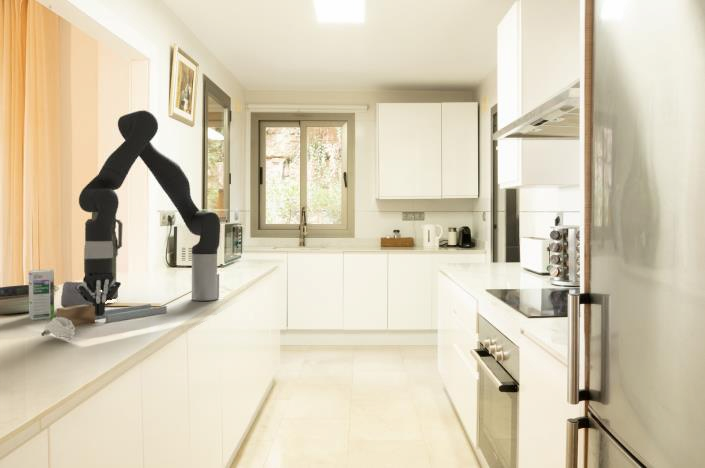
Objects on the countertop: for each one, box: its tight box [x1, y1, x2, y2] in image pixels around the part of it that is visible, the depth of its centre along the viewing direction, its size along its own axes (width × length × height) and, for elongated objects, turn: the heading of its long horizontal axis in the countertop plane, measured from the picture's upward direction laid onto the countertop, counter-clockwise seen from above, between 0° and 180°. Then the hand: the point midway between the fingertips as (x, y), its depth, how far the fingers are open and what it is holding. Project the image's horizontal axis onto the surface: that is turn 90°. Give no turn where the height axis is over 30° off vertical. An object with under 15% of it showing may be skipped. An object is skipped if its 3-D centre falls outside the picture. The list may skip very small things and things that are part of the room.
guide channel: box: [95, 303, 168, 323], centre depth 151 cm, size 20×9×2 cm, turn 149°
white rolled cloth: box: [41, 316, 76, 338], centre depth 122 cm, size 8×7×5 cm
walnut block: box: [55, 305, 96, 327], centre depth 137 cm, size 8×5×5 cm, turn 151°
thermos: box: [84, 212, 124, 300], centre depth 172 cm, size 9×12×35 cm
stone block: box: [60, 281, 93, 308], centre depth 156 cm, size 12×5×10 cm, turn 84°
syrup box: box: [28, 269, 55, 321], centre depth 146 cm, size 6×6×14 cm
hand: (98, 315), depth 142 cm, fingers closed
